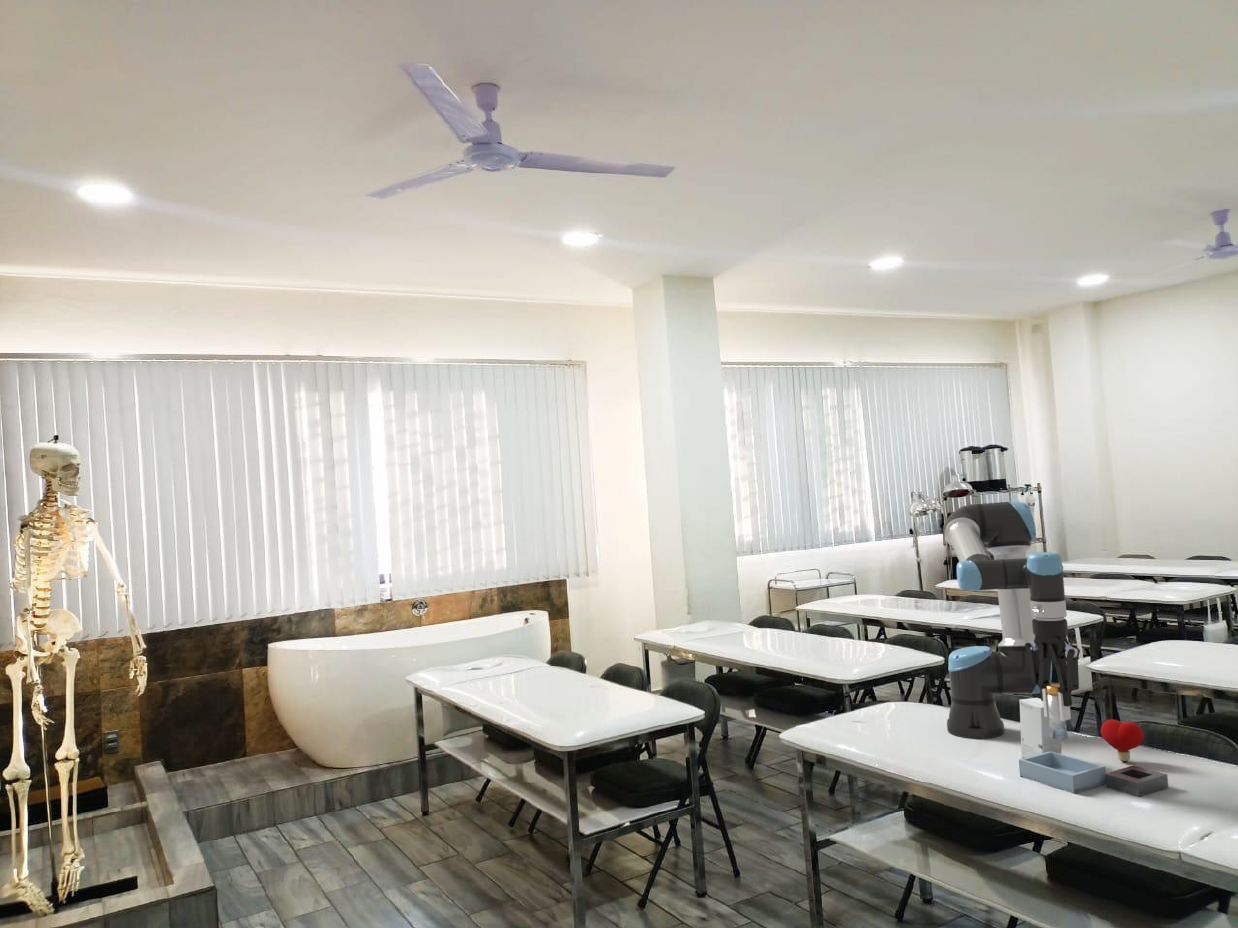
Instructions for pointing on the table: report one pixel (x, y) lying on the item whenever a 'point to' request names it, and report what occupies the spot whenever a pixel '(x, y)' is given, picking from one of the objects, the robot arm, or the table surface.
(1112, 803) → the table surface
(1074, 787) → the tray
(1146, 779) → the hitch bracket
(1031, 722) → the skincare box
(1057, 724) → the copper top battery
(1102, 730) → the red heart shape
